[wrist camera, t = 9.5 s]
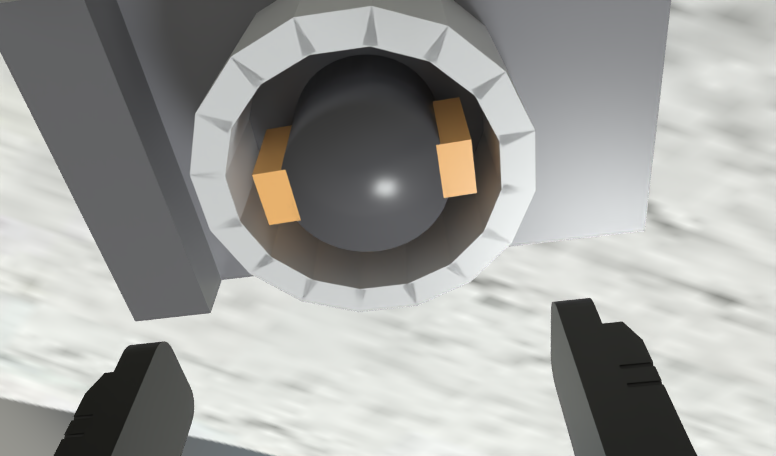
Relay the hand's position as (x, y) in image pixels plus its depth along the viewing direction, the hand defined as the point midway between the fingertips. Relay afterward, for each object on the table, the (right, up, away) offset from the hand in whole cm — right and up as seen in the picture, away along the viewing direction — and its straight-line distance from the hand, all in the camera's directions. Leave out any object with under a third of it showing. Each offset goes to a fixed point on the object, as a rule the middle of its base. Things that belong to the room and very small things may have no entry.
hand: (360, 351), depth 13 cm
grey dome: (0, +6, +9) cm, 11 cm away
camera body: (0, +10, +15) cm, 18 cm away
